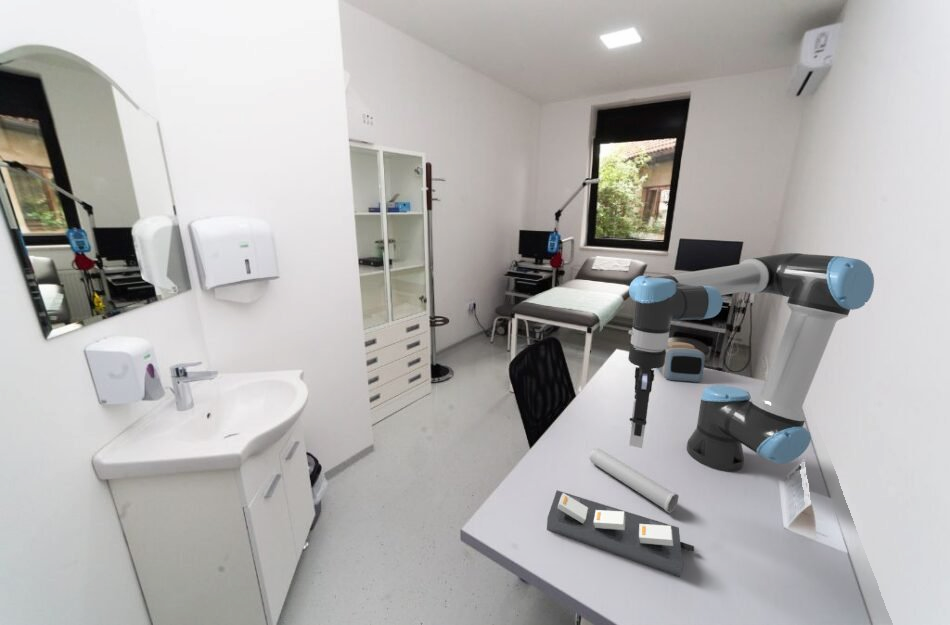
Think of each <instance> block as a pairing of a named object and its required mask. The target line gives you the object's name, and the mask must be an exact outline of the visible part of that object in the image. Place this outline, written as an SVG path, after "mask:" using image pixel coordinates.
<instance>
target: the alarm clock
mask: <svg viewBox="0 0 950 625" xmlns="http://www.w3.org/2000/svg"><path fill="white" fill-rule="evenodd" d="M695 346H696V345H693V344H691V343H689V342H688V343H687V342H682V341H673V342H672V341H671V342H668V345H667V348H666V349H665V351H666V357H665V364H664V366H663V367H661V368H657V370H658V371H659V372H660V374H661V375H662V376H663V377H664V379H666V380H668V381H676V382H677V381H681V382H690V383H691V382H692V383H694V382H695V383H700V382H701V381H703V376H704V368H705V362H706V355H705V353H704V352H703V351H701V350H699V349H697V348H696V347H695Z"/></svg>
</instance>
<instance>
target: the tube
mask: <svg viewBox="0 0 950 625" xmlns="http://www.w3.org/2000/svg"><path fill="white" fill-rule="evenodd" d="M589 461H590V462H591V463H592V464H593V465H595V466H596V467H598V468H600V469H601V470H603V471H605V472H606V473H607V474H609V475H611V476H612V477H614V478H615V479H617V480H619V481H620V482H622V483H623V484H625V485H626V486H628V487H629V488H631V489H632V490H634V491H635V492H637V493H639V494H640V495H642V496H643V497H645V498H647V499H648V500H650V501H651V502H653V503H654V504H655V505H657V506H659V507H660V508H662V509H664V511H665V512H666V513H668V514H671V513H672V512H674V510H675V509H676V506H677V505H678V501H679V496H680V495H679V494H678V493H676V492H673V491H671V490H669V489H668V488H666V487H664V486H663V485H661V484H659V483H658V482H656V481H654V480H653V479H651V478H649V476H648V477H647V476H646V475H644V474H642V473H641V472H639V471H638V470H636V469H634V468H632V467H631V466H630V465H627V464H625V463H624V462H622V461H621V460H619V459H618V458H615V457H614V456H612V455H611V454H609V453H608V452H606V451H604V450H602V449H600V448H599V447H598V448H596V447H595V448H594V449H592V450H591V452H589Z"/></svg>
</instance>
